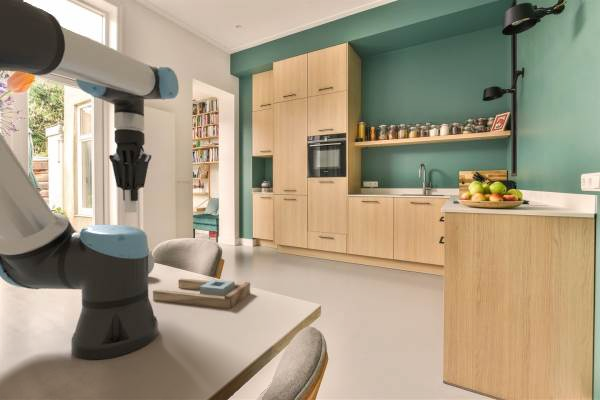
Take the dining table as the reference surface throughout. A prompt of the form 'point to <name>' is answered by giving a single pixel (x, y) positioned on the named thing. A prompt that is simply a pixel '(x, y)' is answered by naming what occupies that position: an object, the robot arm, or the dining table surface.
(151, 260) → the donut
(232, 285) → the block
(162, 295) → the track
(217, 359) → the dining table surface
